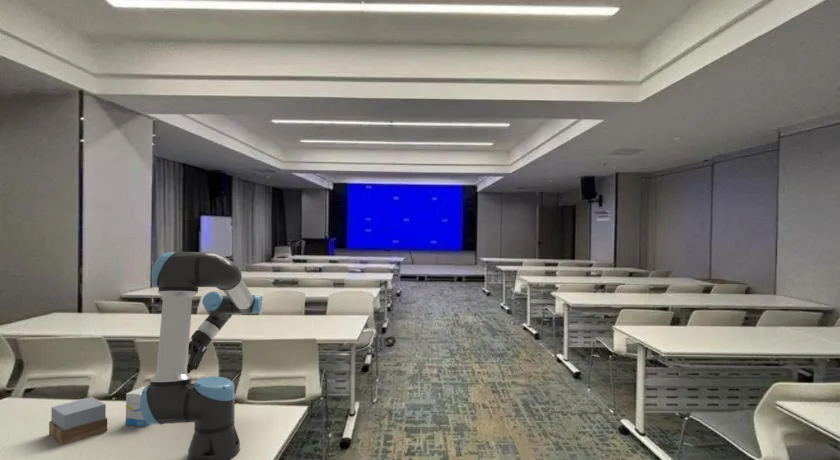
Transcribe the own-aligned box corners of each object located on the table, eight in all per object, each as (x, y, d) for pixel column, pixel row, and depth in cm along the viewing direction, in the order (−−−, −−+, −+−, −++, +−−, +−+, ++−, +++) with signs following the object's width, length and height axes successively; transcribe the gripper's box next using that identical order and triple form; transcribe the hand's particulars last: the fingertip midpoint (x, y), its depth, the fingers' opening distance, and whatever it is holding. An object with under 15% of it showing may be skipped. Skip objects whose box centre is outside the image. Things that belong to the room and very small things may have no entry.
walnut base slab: (107, 432, 159) (107, 418, 159) (62, 446, 149) (62, 431, 149) (92, 423, 167) (93, 409, 167) (49, 436, 156) (49, 421, 156)
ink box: (144, 427, 163) (145, 395, 163) (124, 425, 165) (125, 393, 165) (162, 417, 171) (162, 387, 171) (143, 415, 173) (143, 385, 173)
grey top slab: (105, 418, 159) (105, 404, 160) (64, 430, 150) (64, 415, 150) (91, 410, 166) (91, 396, 166) (51, 421, 156) (51, 407, 156)
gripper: (227, 344, 183) (190, 391, 170) (195, 335, 197) (159, 378, 185) (215, 333, 178) (176, 381, 166) (183, 325, 193) (145, 369, 180)
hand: (167, 380), depth 175 cm, fingers open, 13 cm apart
